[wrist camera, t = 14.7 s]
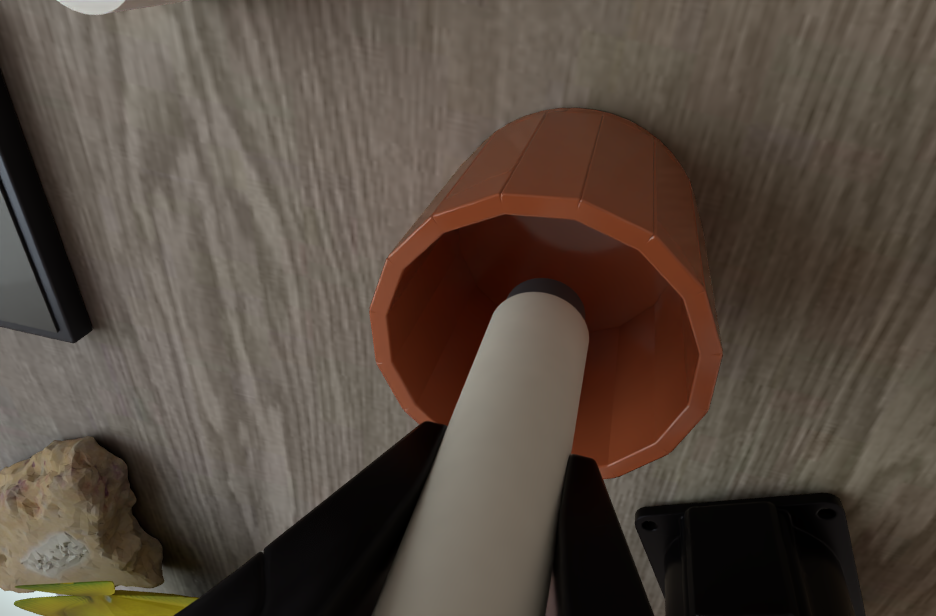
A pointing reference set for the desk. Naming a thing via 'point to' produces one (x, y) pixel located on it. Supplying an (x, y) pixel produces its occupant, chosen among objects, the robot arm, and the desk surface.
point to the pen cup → (562, 279)
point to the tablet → (32, 247)
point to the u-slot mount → (111, 5)
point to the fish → (101, 601)
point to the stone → (73, 521)
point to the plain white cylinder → (498, 468)
